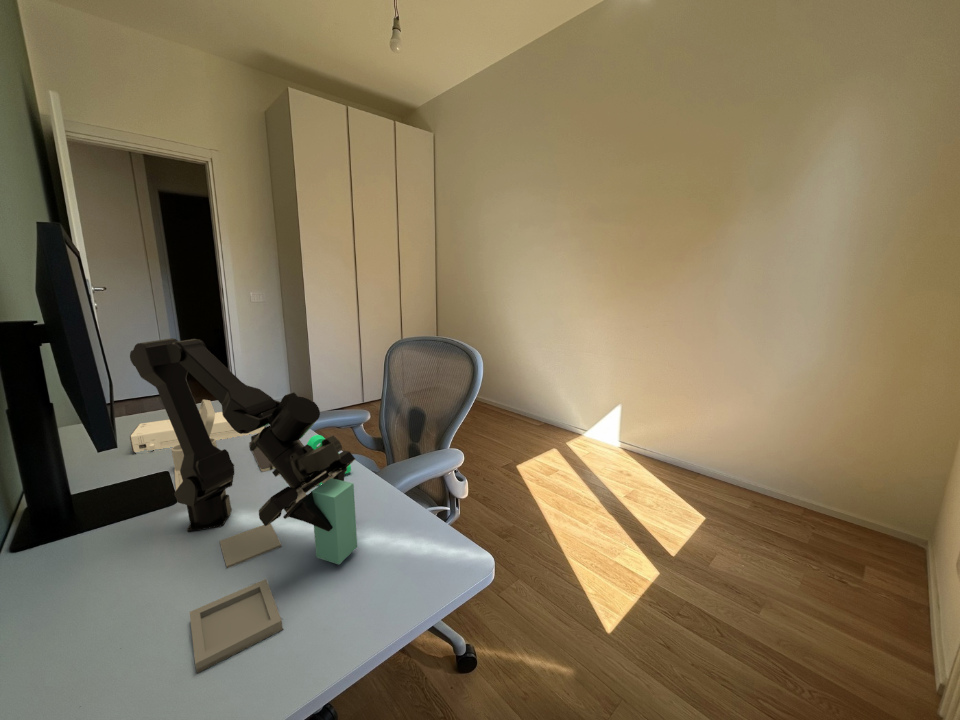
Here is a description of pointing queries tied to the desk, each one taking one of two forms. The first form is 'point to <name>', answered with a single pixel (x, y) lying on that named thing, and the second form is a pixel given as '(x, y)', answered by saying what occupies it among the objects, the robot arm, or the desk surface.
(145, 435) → the laminator
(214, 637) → the shallow beige square tray
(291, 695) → the desk surface
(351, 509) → the tall green square pillar
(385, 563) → the desk surface
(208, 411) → the phone holder
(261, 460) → the notebook
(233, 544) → the lid
